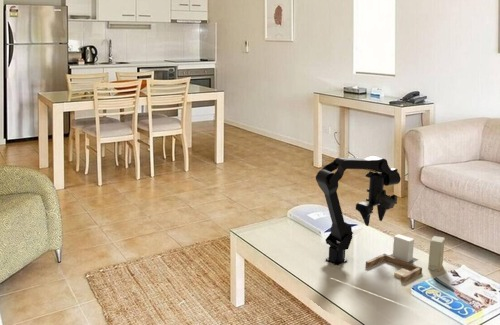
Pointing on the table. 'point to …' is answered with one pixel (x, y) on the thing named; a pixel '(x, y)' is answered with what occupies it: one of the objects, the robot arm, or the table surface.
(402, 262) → the frame
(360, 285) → the table surface
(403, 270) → the offcut slab upper
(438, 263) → the skincare box
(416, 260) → the felt pad
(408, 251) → the off-white upright block
